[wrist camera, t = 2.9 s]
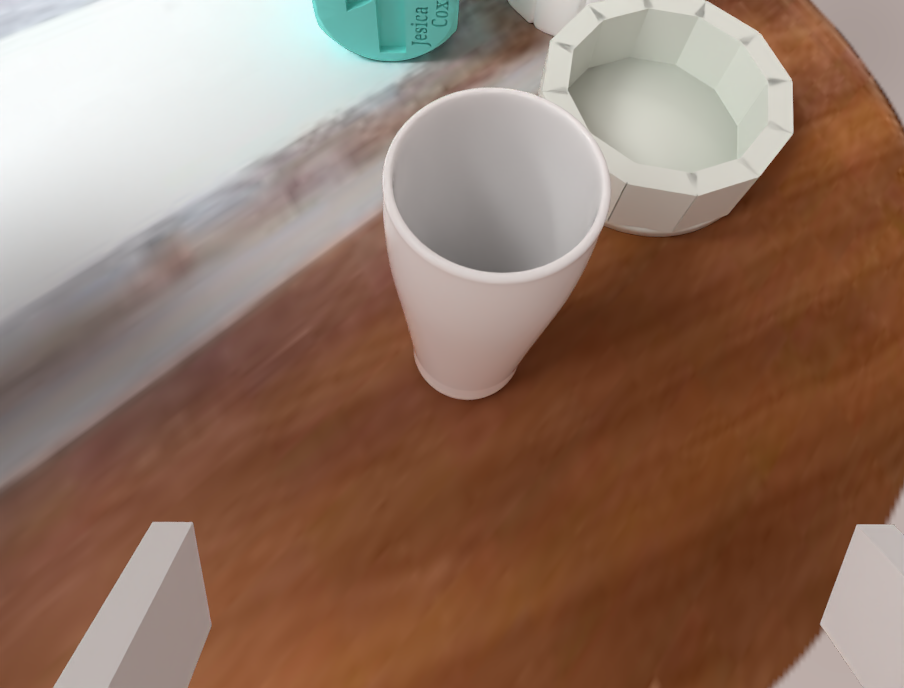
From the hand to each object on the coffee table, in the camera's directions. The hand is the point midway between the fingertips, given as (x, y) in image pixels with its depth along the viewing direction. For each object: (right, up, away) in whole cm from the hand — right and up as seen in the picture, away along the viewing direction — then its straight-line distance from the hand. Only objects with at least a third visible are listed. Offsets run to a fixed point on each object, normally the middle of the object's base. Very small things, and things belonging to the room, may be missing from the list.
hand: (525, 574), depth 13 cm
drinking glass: (-1, +4, +20) cm, 20 cm away
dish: (+10, +17, +24) cm, 31 cm away
